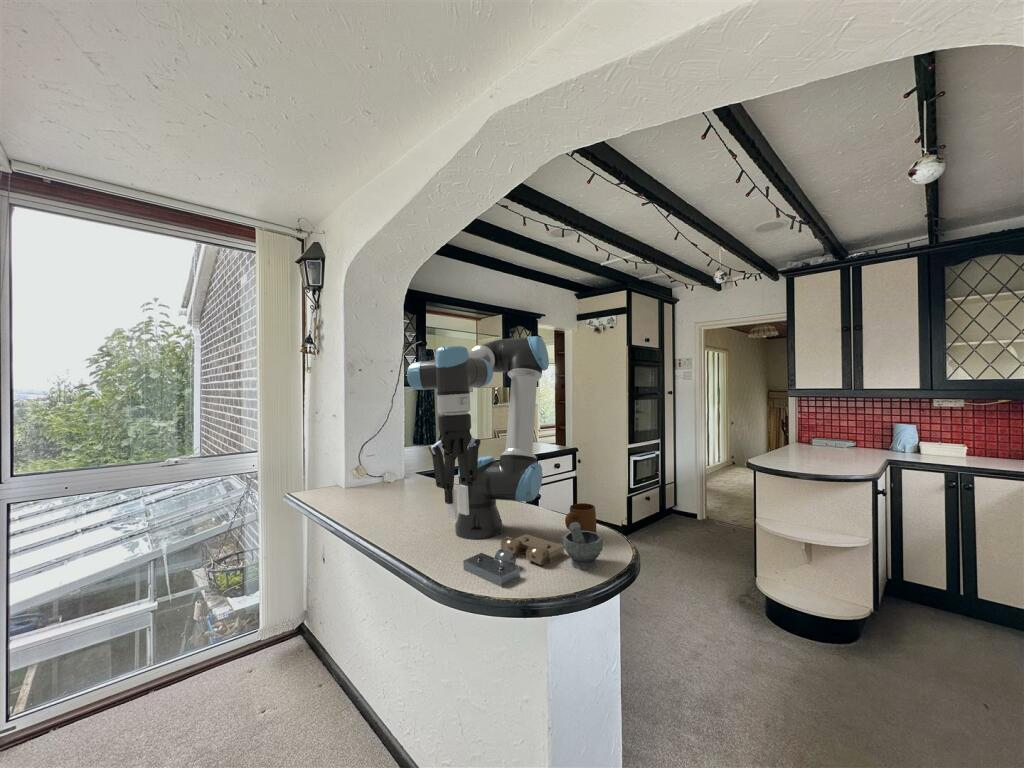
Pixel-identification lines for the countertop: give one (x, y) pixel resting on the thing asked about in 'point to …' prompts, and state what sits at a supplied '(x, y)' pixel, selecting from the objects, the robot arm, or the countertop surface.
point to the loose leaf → (494, 567)
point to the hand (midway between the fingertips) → (458, 515)
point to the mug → (582, 516)
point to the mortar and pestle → (582, 547)
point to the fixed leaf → (533, 548)
